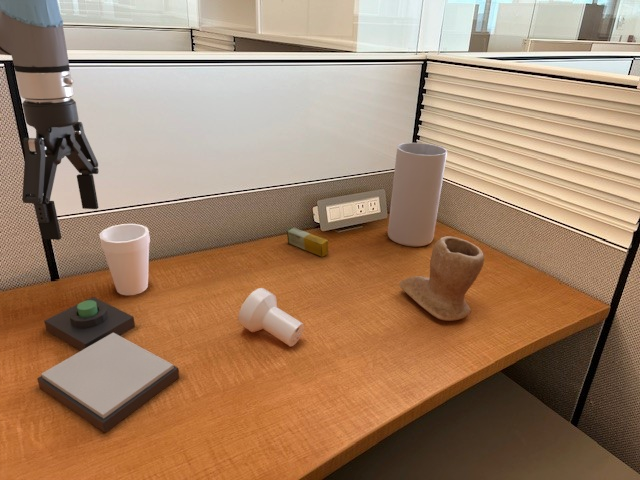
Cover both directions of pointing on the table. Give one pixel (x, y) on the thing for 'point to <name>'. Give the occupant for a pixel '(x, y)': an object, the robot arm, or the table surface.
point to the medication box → (307, 241)
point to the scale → (108, 380)
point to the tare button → (87, 308)
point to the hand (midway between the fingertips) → (72, 222)
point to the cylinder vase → (416, 193)
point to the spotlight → (269, 317)
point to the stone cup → (447, 279)
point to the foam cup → (127, 256)
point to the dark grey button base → (89, 325)
